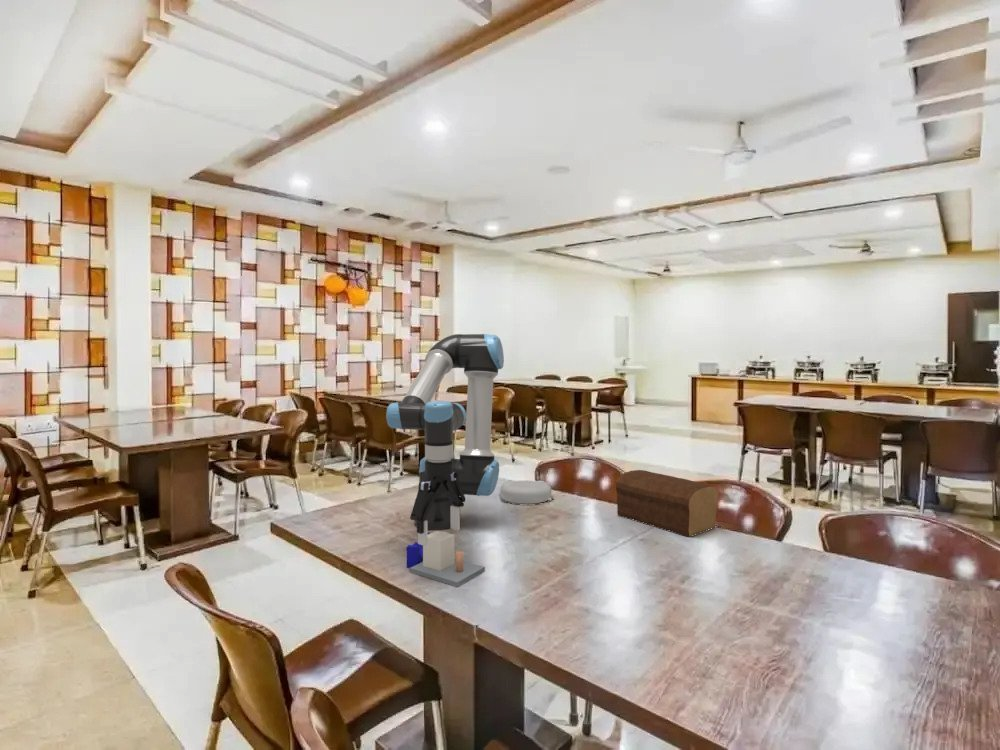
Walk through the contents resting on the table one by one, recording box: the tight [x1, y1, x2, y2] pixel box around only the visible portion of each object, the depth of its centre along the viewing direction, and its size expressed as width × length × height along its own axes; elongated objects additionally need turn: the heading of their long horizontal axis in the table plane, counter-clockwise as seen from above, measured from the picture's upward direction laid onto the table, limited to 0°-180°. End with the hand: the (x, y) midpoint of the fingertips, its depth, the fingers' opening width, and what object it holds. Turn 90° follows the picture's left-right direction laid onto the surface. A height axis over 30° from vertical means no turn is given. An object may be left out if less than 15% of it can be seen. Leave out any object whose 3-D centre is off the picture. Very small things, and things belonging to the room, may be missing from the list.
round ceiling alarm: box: [499, 479, 552, 505], centre depth 224 cm, size 25×25×6 cm
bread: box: [615, 469, 719, 538], centre depth 194 cm, size 18×30×16 cm, turn 38°
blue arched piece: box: [406, 532, 431, 569], centre depth 159 cm, size 12×4×6 cm, turn 170°
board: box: [409, 550, 486, 588], centre depth 150 cm, size 12×16×6 cm
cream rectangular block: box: [423, 530, 456, 571], centre depth 152 cm, size 6×6×8 cm
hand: (439, 536), depth 152 cm, fingers open, 13 cm apart
